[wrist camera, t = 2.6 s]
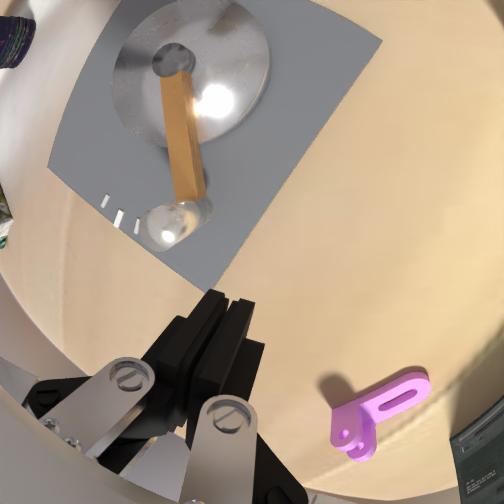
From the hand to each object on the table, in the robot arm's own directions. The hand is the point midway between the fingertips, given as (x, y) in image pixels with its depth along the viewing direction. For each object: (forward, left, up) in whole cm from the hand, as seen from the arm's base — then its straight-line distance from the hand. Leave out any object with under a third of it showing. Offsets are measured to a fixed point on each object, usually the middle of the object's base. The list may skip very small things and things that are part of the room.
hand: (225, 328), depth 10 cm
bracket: (+11, +24, -17) cm, 31 cm away
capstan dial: (-5, -12, -14) cm, 19 cm away
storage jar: (-3, -54, -16) cm, 56 cm away
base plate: (-4, -15, -16) cm, 22 cm away
